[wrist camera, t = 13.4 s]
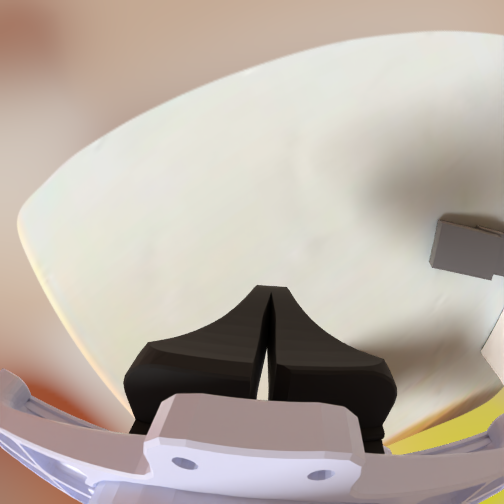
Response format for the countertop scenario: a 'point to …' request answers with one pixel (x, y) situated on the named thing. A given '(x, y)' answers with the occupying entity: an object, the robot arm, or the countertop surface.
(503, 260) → the domino
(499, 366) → the milk carton
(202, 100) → the countertop surface
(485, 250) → the domino
